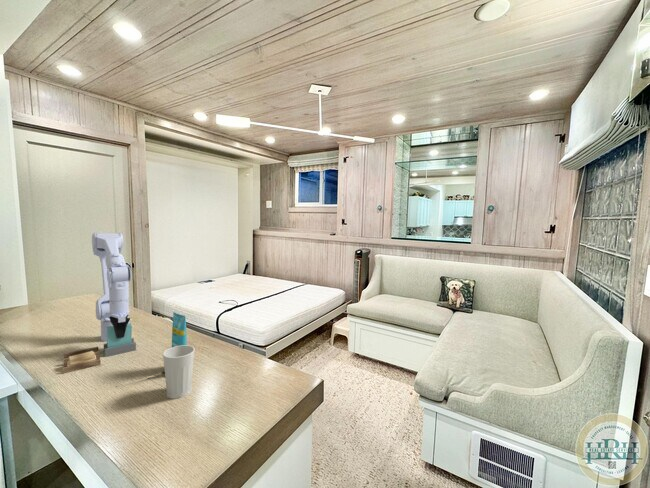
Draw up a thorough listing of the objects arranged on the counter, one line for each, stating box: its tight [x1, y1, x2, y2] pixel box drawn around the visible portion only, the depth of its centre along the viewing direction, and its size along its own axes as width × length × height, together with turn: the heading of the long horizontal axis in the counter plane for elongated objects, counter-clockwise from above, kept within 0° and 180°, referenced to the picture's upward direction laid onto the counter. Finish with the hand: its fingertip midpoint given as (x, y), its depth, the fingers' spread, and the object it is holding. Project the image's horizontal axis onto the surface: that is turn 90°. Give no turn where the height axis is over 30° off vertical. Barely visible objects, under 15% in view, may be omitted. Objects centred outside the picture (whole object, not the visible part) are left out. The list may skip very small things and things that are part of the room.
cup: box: [162, 344, 196, 400], centre depth 80 cm, size 8×8×12 cm
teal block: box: [106, 322, 133, 348], centre depth 102 cm, size 7×3×9 cm, turn 132°
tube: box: [171, 311, 188, 348], centre depth 90 cm, size 7×5×19 cm, turn 60°
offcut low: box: [67, 355, 96, 367], centre depth 91 cm, size 7×4×2 cm, turn 132°
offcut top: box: [69, 351, 95, 365], centre depth 91 cm, size 6×3×2 cm, turn 140°
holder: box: [103, 337, 137, 358], centre depth 102 cm, size 9×7×4 cm
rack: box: [62, 346, 101, 375], centre depth 93 cm, size 9×13×3 cm
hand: (119, 336), depth 102 cm, fingers open, 3 cm apart
